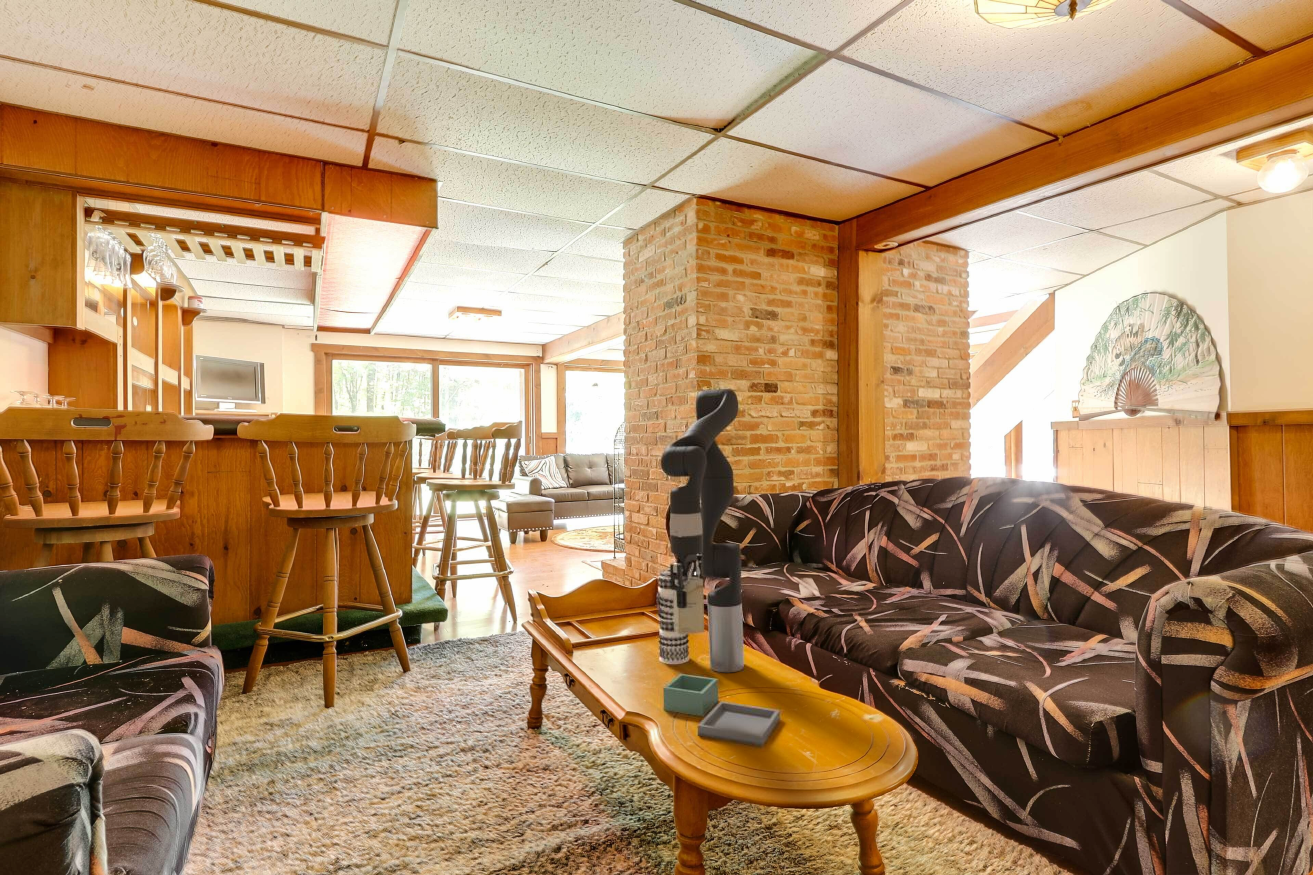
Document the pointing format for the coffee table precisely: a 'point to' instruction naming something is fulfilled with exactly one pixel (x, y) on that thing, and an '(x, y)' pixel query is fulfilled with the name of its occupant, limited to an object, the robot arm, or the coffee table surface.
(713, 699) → the teal square open box
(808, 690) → the coffee table surface
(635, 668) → the coffee table surface
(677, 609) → the skincare box
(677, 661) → the decorative candle
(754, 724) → the tray
